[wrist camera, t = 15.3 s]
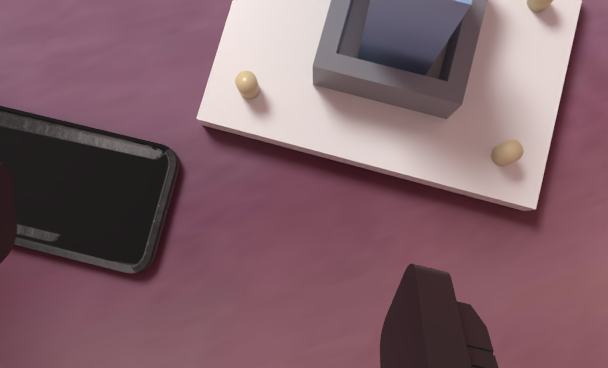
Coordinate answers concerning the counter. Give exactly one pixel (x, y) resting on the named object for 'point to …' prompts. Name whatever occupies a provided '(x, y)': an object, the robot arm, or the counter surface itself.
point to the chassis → (400, 92)
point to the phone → (87, 190)
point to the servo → (409, 32)
